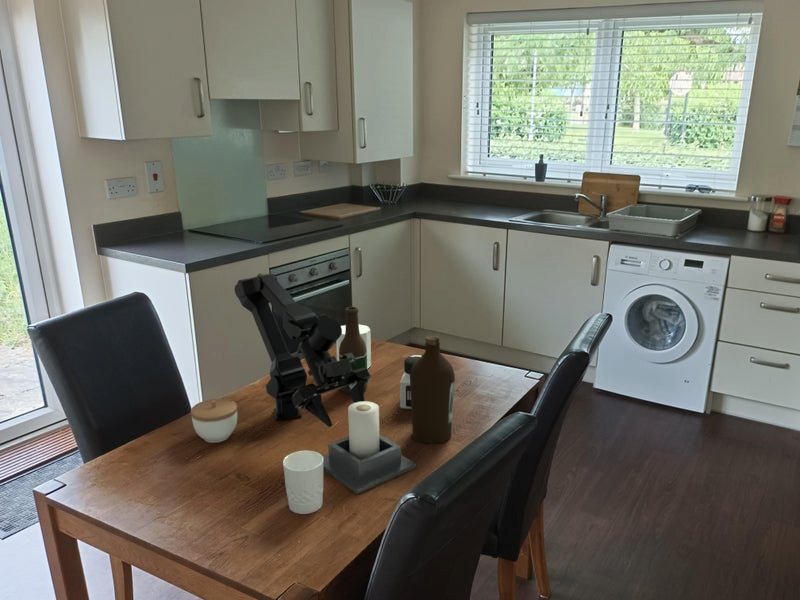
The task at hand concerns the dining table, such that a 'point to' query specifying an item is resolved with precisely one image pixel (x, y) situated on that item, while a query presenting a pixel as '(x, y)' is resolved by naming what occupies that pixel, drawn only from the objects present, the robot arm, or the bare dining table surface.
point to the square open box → (365, 464)
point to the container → (407, 382)
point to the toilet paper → (365, 336)
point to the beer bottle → (353, 343)
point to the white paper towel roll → (363, 429)
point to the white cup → (304, 481)
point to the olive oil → (432, 395)
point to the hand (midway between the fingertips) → (347, 420)
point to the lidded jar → (214, 419)
